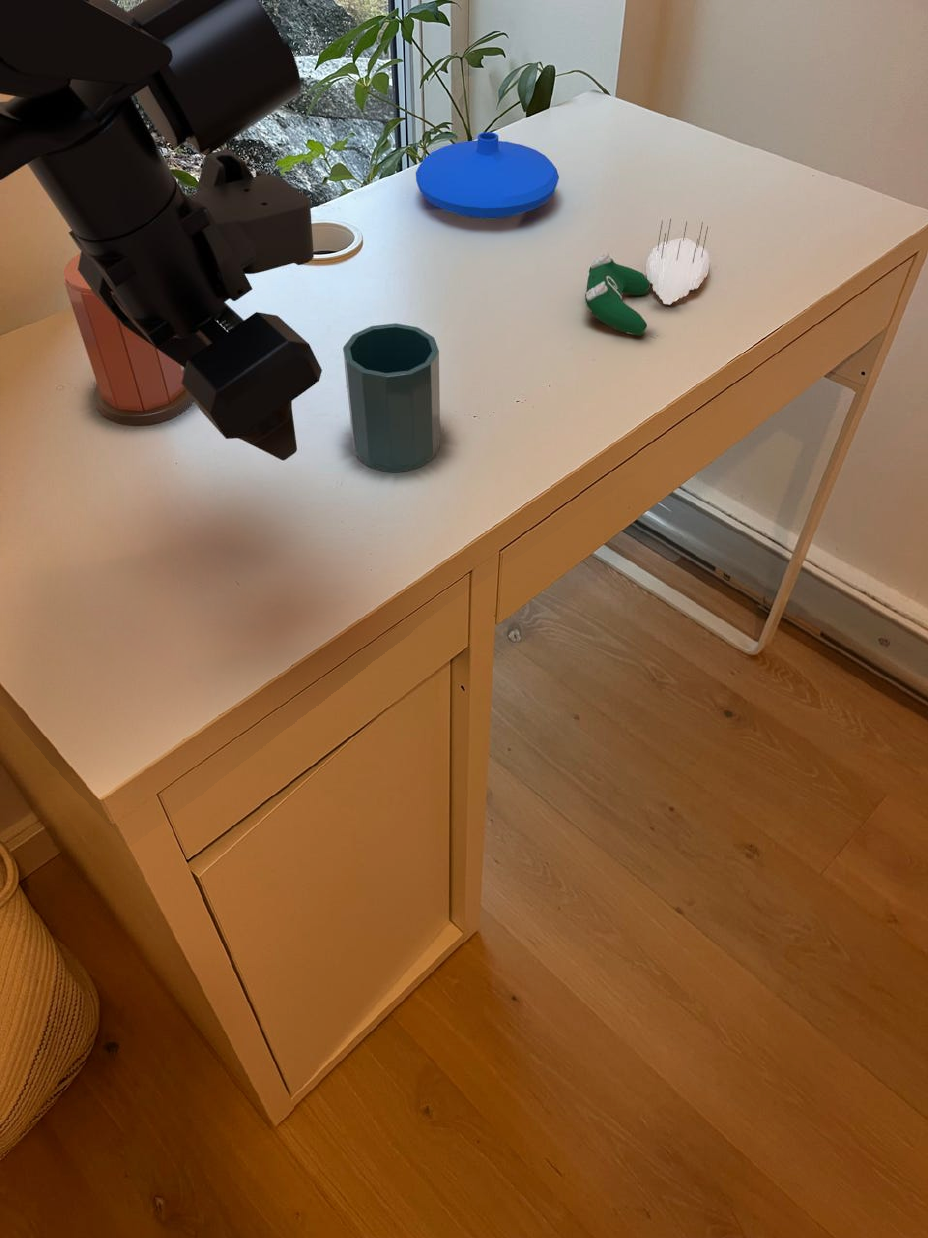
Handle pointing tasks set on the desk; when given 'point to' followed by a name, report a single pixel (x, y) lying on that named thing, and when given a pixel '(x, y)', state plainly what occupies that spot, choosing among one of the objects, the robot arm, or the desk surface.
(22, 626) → the desk surface
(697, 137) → the desk surface
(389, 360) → the teal cup
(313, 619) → the desk surface
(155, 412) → the towel holder
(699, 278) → the pincushion
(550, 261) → the desk surface
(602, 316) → the green christmas stockings
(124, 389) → the fluted orange cylinder
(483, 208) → the vase
